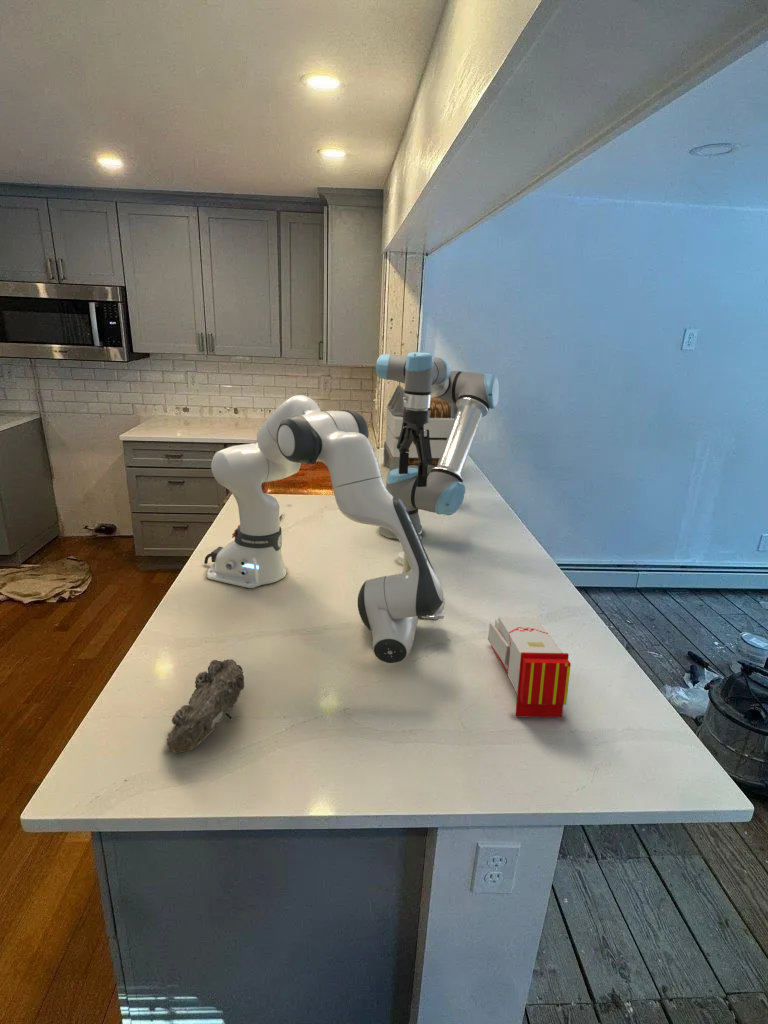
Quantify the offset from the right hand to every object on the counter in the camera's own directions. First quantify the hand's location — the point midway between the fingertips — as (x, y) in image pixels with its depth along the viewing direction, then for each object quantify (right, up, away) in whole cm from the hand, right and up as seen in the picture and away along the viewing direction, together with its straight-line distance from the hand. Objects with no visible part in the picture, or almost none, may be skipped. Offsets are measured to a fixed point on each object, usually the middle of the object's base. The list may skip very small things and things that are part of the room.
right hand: (412, 479), depth 169 cm
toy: (+22, -46, -45) cm, 67 cm away
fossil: (-41, -49, -61) cm, 88 cm away
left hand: (-2, -29, -22) cm, 37 cm away
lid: (-1, -23, +8) cm, 25 cm away
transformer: (+9, +9, +106) cm, 106 cm away
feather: (-46, -12, +41) cm, 63 cm away
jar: (-1, -32, -9) cm, 33 cm away
